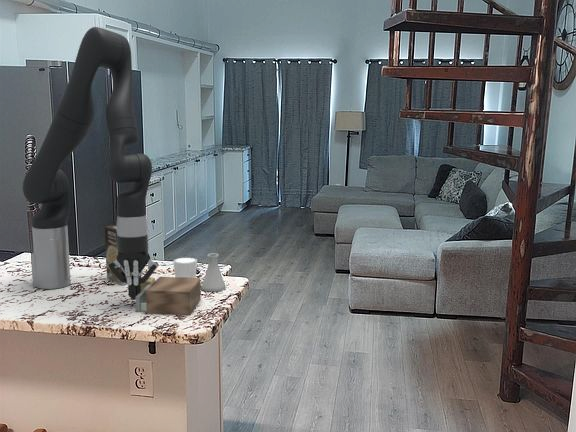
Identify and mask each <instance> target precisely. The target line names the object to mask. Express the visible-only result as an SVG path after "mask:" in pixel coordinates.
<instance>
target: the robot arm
mask: <svg viewBox="0 0 576 432" xmlns="http://www.w3.org/2000/svg"><path fill="white" fill-rule="evenodd" d="M131 49H132V48H131V45H130V42H129V41H128V39H127V38H126V37H125V36H124V35H122V34H120V33H117V32H115V31H111V30H110V29H109V30H108V29H106V28H103V27H99V26H93V27H91V28H89V29H88V30H87V31H86V33H84V36H83V37H82V40H81V42H80V44H79V48H78V51H77V54H76V57H75V60H74V63H73V67H72V71H71V74H70V77H69V80H68V83H67V85H66V87H65V90H64V92H63V95H62V97H61V99H60V102H59V104H58V106H57V108H56V111H55V113H54V115H53V118H52V120H51V124H50V126H49V128H48V130H47V133H46V135H45V138H44V140H43V142H42V144H41V146H40V149H39V151H38V152H37V155H36V156H35V158H34V159H33V162H32V163H31V165H30V167H29V168H28V170H27V171H26V173H25V176H24V178H23V181H22V193H23V196H24V198H25V199H26V200H27V201H28V202H29V203H31V204H38V205H41V206H40V208H39V210H38V212H36V213H35V214H34V215H33V216H32V218H31V232H32V245H33V252H32V253H31V254H30V261H31V262H30V265H31V266H30V267H31V279H32V288H33V287H34V288H38V289H42V290H55V289H60V288H65V287H67V286H69V285H70V284H71V267H70V266H71V265H70V249H69V248H70V247H69V246H70V245H69V234H68V233H69V232H68V227H69V226H68V218H69V217H70V213H71V212H70V211H71V209H70V207H71V204H70V203H71V201H70V200H71V199H70V198H71V197H70V195H71V191H70V182H69V179H68V176H67V175H66V173H65V172H64V171H63V170H62V169H60V168H61V167H62V165H63V163H64V162H65V161H66V160H67V159H68V157H70V155H71V154H73V152H74V151H75V150H76V149H78V148H79V146H80V145H81V144H82V143H83V142H84V140H85V138H86V137H87V135H88V132H89V130H90V129H91V127H92V124H93V121H94V118H95V115H96V114H95V113H96V112H95V111H96V110H95V103H94V97H93V90H92V88H93V87H92V86H93V81H94V80H95V76H96V74H97V71H98V69H99V68H100V67H101V68H104V69H108V70H109V71H110V74H111V78H112V90H111V91H112V92H111V94H110V97H109V99H108V102H107V105H106V110H105V119H106V124H107V125H106V126H107V131H108V135H109V154H108V155H109V156H108V162H107V172H108V175H109V178H110V179H111V180H112V181H113V182H114V183H116V184H124V183H133V185H132V186H131V188H130V189H128V190H126V191H122V192H120V193H118V194H117V196H116V208H117V209H116V213H117V218H116V219H117V220H116V225H117V244H118V255H117V257H116V260H115V261H113V262H111V263H110V264H109V268H110V269H111V270H112V272H113V273H114V274H115V275H116V277H117V278H118V279H119V280H120V281H121V282H122V283H127V284H126V285H127V289H128V290H127V292H128V297H130V299H131V300H136V296H137V295H138V294H139V293H140V292H141V284H142V283H145V282H146V281H147V280H148V279H149V277H152V275H153V273H155V271H156V270H157V268H158V267H159V266H160V265H159V263H158V262H154V261H153V260H152V259H151V255H150V253H149V234H148V233H149V230H148V219H147V205H146V204H147V202H146V201H147V195H148V190H149V186H150V185H149V184H150V182H151V177H152V174H153V173H152V172H153V165H152V164H153V163H152V161H151V159H150V158H149V156H148V155H147V154H145V153H124V148H129V147H132V146H135V145H136V144H137V143H138V142H139V140H140V137H139V136H140V135H139V131H138V126H137V119H136V117H135V116H136V115H135V109H134V101H133V68H132V67H133V66H132V65H133V64H132V63H133V62H132V50H131ZM120 265H121V266H122V268H123V269H124V270H125V273H124V271H123V270H122V269H121V268H120ZM145 267H147V271H146V273H145V274H144V275H143V276H142V274H143V270H144V269H145ZM141 277H142V278H141Z"/></svg>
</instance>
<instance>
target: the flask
mask: <svg viewBox="0 0 576 432" xmlns="http://www.w3.org/2000/svg"><path fill="white" fill-rule="evenodd" d="M207 258H208V264H207V269H206V272H205V276H204V278H203V281H202V284H201V285H200V289H201V291H205V292H210V293H211V292H222V291H223V290H225V289H226V284H225V281H224V278H223V276H222V272H221V269H220V267H219V262H218V261H219V260H218V258H219V253H213V252H212V253H207Z"/></svg>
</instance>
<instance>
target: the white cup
mask: <svg viewBox="0 0 576 432" xmlns="http://www.w3.org/2000/svg"><path fill="white" fill-rule="evenodd" d="M172 261H173V262H172V263H173V270H174V277H186V278H197V265H198V259H197V258H195V257H179V258H176V259H174V260H172Z"/></svg>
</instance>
